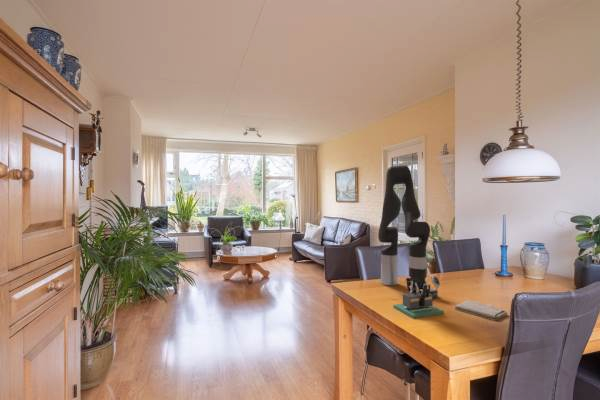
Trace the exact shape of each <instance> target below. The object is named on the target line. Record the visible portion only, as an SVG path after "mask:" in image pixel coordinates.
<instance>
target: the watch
mask: <svg viewBox="0 0 600 400" xmlns="http://www.w3.org/2000/svg"><path fill="white" fill-rule="evenodd" d="M427 277H430V278H431V282H432V284H433V286H435V289H433V288H430V292H429V293H430V294H433V299H435V298H437V297H438V296H439V295H438V293H439V291H438V289H439V288H440V285H441V283H440V282H441V281H440V279H439V278H438V277H437V276H435V275H434V274H427ZM425 282H426V284H427V281H426V279H425ZM427 285H428V284H427Z"/></svg>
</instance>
